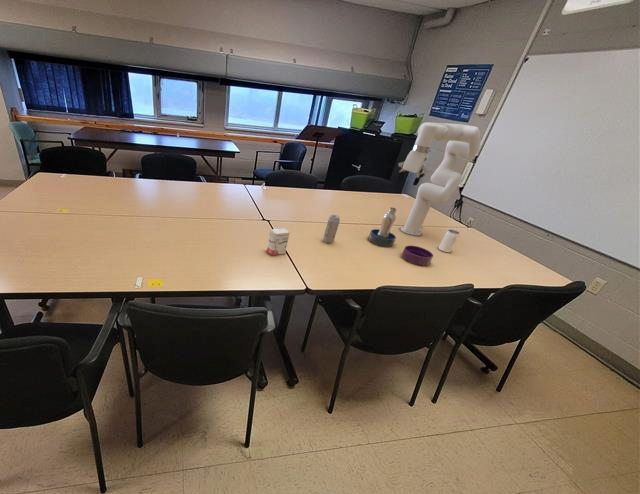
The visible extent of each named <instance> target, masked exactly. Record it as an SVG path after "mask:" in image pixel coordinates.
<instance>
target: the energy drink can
mask: <svg viewBox="0 0 640 494" xmlns="http://www.w3.org/2000/svg"><path fill="white" fill-rule="evenodd" d="M340 218H341V217H340V215H337V214H331V215H330V216H329V217H328V219H327V223H326V227H325V230H324V234H323V238H322V240H323V242H324V243H326V244H333V242H334V241H335V238H336V235H337V231H338V228H339V225H340V221H341V220H340Z"/></svg>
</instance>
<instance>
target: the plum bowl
mask: <svg viewBox="0 0 640 494" xmlns="http://www.w3.org/2000/svg"><path fill="white" fill-rule="evenodd" d="M401 257H402V258H403V260H405V261H407V262H409V263H411V264H414V265H418V266H429V265H430V263H431V262H432V259H433V258H434V253H432V252H431V251H430V250H428V249H426V248H423V247H422V246H421V247H420V246H417V245H405V246H404V247H403V250H402V253H401Z"/></svg>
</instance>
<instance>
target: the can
mask: <svg viewBox="0 0 640 494" xmlns="http://www.w3.org/2000/svg"><path fill="white" fill-rule="evenodd" d="M459 236H460V232H459V231H457V230H454V229H448V230H447V231H446V233H445V234H444V236H443V238H442V240H441V242H440V244H439V246H438V250H440V251H441V252H443V253H451V251H452V250H453V248H454V246H455V244H456V242H457V240H458V238H459Z"/></svg>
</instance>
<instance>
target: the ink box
mask: <svg viewBox="0 0 640 494" xmlns="http://www.w3.org/2000/svg"><path fill="white" fill-rule="evenodd" d="M289 237H290V231H288V229H286V228H284V227H283V228H272V229H270V231H269V236H268V242H267V248H266V252H267V253H268V254H269V255H271V256H276V255H283V254H286V252H287V248H288V247H287V246H288V242H289Z"/></svg>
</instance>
